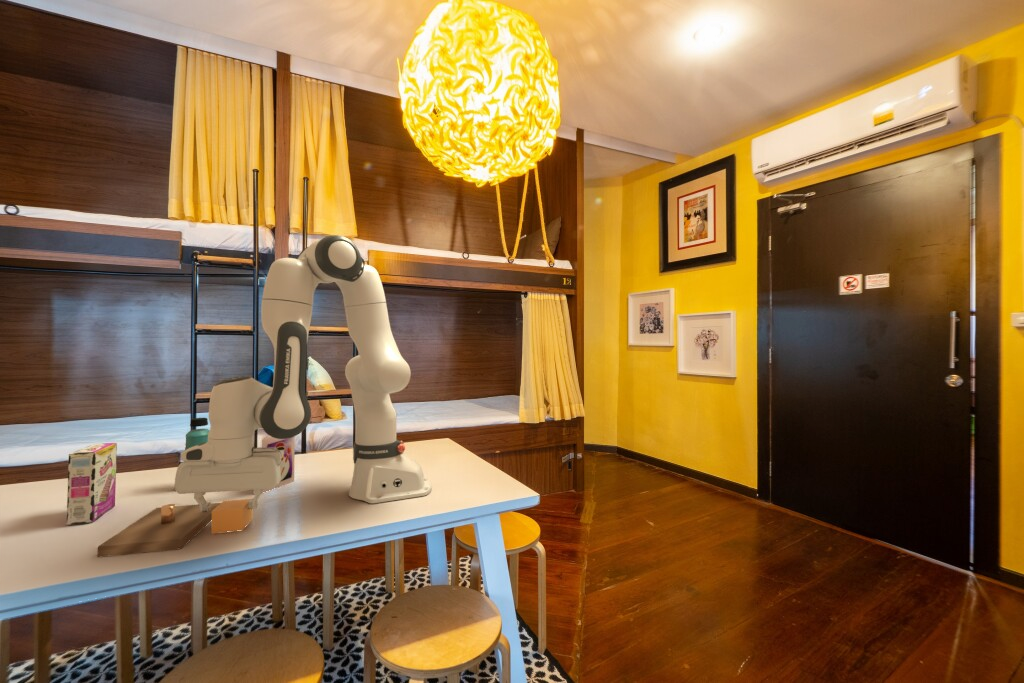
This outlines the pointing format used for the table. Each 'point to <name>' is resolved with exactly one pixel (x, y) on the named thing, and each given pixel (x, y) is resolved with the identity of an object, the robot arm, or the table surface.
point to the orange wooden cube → (231, 516)
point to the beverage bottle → (197, 433)
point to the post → (168, 514)
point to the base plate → (158, 532)
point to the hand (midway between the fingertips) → (229, 509)
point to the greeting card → (283, 457)
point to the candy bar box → (91, 483)
